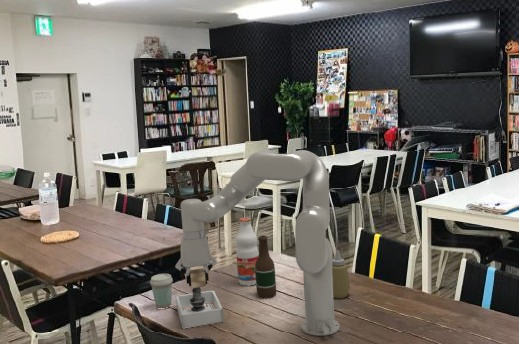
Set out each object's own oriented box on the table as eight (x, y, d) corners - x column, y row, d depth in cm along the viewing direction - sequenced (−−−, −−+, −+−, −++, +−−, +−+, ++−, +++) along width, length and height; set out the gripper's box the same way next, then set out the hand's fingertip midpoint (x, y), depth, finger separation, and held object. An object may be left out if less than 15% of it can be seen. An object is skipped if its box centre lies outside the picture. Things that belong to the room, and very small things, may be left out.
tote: (223, 322, 188) (222, 308, 187) (182, 329, 184) (181, 315, 184) (214, 302, 207) (213, 290, 206) (177, 308, 203) (175, 296, 203)
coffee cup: (170, 311, 201) (167, 280, 200) (149, 310, 203) (146, 280, 201) (178, 302, 209) (175, 273, 208) (157, 302, 211) (154, 273, 210)
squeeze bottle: (344, 301, 200) (342, 254, 197) (325, 297, 205) (323, 252, 202) (354, 294, 206) (352, 249, 204) (335, 290, 211) (333, 246, 209)
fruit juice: (263, 279, 229) (259, 216, 225) (256, 287, 220) (251, 221, 217) (243, 278, 232) (238, 215, 229) (235, 285, 224) (230, 221, 220)
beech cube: (203, 281, 192) (202, 268, 192) (205, 286, 188) (204, 272, 187) (190, 283, 191) (189, 270, 191) (191, 288, 186) (190, 274, 186)
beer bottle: (277, 291, 214) (273, 233, 211) (275, 298, 207) (271, 238, 203) (257, 292, 215) (253, 234, 212) (255, 299, 207) (251, 239, 204)
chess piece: (207, 305, 202) (205, 275, 201) (203, 312, 197) (200, 280, 195) (193, 305, 204) (190, 275, 202) (188, 311, 198) (185, 280, 196)
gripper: (216, 229, 192) (219, 277, 195) (168, 234, 188) (172, 284, 191) (219, 234, 185) (223, 284, 188) (170, 239, 181) (174, 291, 184)
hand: (197, 283), depth 189 cm, fingers closed on beech cube, 5 cm apart
